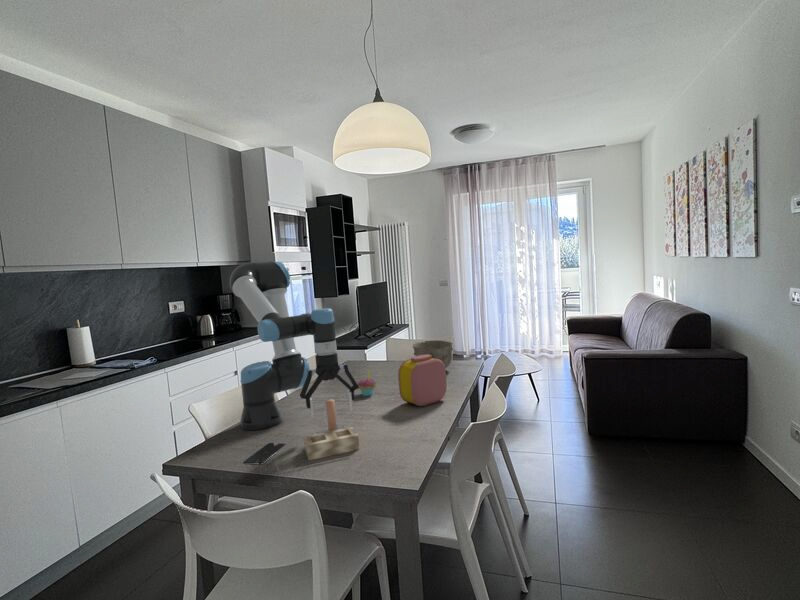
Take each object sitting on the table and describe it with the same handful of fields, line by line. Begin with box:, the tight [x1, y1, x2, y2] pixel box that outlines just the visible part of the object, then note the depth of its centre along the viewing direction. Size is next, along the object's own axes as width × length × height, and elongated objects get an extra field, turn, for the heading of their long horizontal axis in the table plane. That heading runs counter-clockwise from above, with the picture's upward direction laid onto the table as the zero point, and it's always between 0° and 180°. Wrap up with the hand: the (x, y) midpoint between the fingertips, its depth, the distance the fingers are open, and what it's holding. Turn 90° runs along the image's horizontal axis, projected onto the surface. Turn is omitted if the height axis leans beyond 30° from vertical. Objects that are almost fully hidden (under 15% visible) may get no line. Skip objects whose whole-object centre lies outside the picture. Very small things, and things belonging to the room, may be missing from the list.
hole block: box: [303, 426, 360, 461], centre depth 139 cm, size 16×8×5 cm, turn 110°
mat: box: [316, 426, 345, 434], centre depth 152 cm, size 10×10×1 cm
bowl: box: [412, 339, 454, 370], centre depth 230 cm, size 22×22×15 cm
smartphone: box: [242, 442, 286, 464], centre depth 141 cm, size 7×1×15 cm
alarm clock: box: [397, 354, 448, 407], centre depth 181 cm, size 18×11×19 cm, turn 126°
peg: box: [325, 398, 338, 431], centre depth 152 cm, size 3×3×12 cm
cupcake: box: [357, 368, 377, 397], centre depth 197 cm, size 9×8×12 cm
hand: (331, 413), depth 151 cm, fingers open, 13 cm apart
